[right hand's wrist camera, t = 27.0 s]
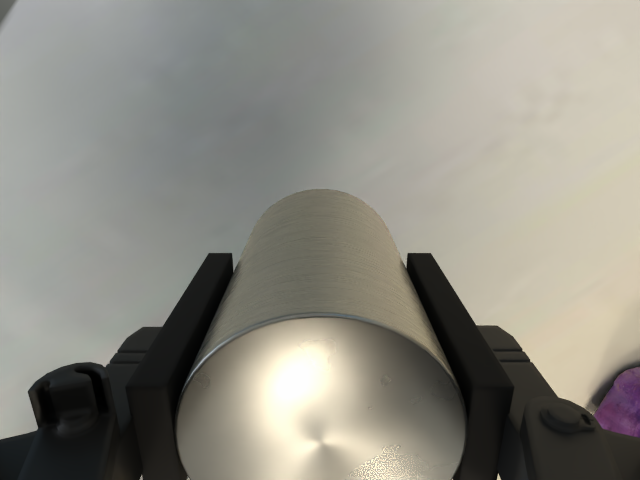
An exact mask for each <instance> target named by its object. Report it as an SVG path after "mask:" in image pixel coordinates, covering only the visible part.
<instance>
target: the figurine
mask: <svg viewBox="0 0 640 480" xmlns="http://www.w3.org/2000/svg"><path fill="white" fill-rule="evenodd" d="M594 417H595V418H596V420H597V421H598V422H599V424H600V425H601V427H602V429H605V430H609V431H612V432H616V433H621V434H625V435H630V436H634V437H639V438H640V367H635V368H631V369H628V370H625V371H624V372H623V373H621V374H619V375H618V377H617V378H616V380H615V381H614V385H613V386H612V387H611V389H610V390H609V391H608V393H607V394H606V395H605V397H604V399H603V400H602V402H601V404H600V406H599V407H598V409H597V411H596V412H595V414H594Z"/></svg>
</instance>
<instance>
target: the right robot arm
mask: <svg viewBox="0 0 640 480" xmlns="http://www.w3.org/2000/svg"><path fill="white" fill-rule="evenodd" d="M406 270H407V272H408V274H409V276H410V279H411V281H412V283H413V285H414V288H415V290H416V292H417V294H418V296H419V299H420V301H421V303H422V305H423V308H424V310H425V312H426V314H427V316H428V319H429V321H430V323H431V325H432V328H433V330H434V332H435V334H436V336H437V339H438V341H439V343H440V345H441V348H442V350H443V352H444V354H445V356H446V359H447V361H448V363H449V365H450V368H451V370H452V372H453V374H454V377H455V379H456V381H457V383H458V385H459V388H460V390H461V393H462V396H463V399H464V402H465V406H466V412H467V418H468V426H467V440H466V446H465V451H464V454H463V457H462V460H461V463H460V466H459V467H458V469H457V471H456V473H455V475H454V477H453V480H497V476H498V473H499V476H500V478H501V480H640V438H639V437H634V436H630V435H625V434H621V433H616V432H612V431H609V430H605V429H602V427H601V425H600V424H599V422H598V421H597V420H596V418H595V417H594V416H593V415H592V414H590V413H589V412H588V411H587V410H586V409H584V408H583V407H581V406H579V405H577V404H575V403H573V402H571V401H568V400H565V399H562V398H558V397H557V395H556V394H555V393H554V391H553V390H552V388H551V387H550V386H549V384H548V383H547V382H546V380H545V379H544V378H543V376H542V375H541V374H540V372H539V371H538V370H537V368H536V367H535V366H534V364H533V363H532V362H530V359H529V358H528V356H527V355H526V353H525V352H523V351H522V348H521V347H520V345H519V344H518V343H517V341H516V340H515V339H514V337H513V336H511V335H510V334H509V333H507V332H506V331H504V330H503V329H501V328H500V327H498V326H476V324H475V323H474V321H473V320H472V318H471V316H470V315H469V313H468V312H467V310H466V308H465V307H464V305H463V304H462V302H461V300H460V299H459V297H458V296H457V294H456V293H455V291H454V289H453V288H452V286H451V285H450V283H449V281H448V280H447V278H446V277H445V275H444V273H443V272H442V270H441V269H440V267H439V265H438V264H437V262H436V261H435V259H434V258H433V256H432V254H431V253H408V256H407V269H406ZM233 273H234V272H233V259H232V253H209V254H208V255H207V257H206V259H205V260H204V262H203V263H202V265H201V267H200V268H199V270H198V271H197V273H196V275H195V276H194V278H193V279H192V281H191V283H190V284H189V286H188V287H187V289H186V290H185V292H184V294H183V295H182V297H181V298H180V300H179V302H178V303H177V305H176V306H175V308H174V310H173V311H172V313H171V314H170V316H169V318H168V319H167V321H166V322H165V324H164V325H163V327H142V328H141V329H139V330H138V331H136V332H135V333H133V334H132V335H131V336H129V337H128V338H127V339H126V340H125V341H124V343H123V344H122V345H121V347H120V348H119V349H118V353H116V354H115V355H114V356H113V358H112V359H111V360H110V364H107V366H106V367H103V366H102V365H101V364H96V363H92V362H86V363H75V364H71V365H67V366H63V367H60V368H58V369H56V370H54V371H52V372H49V373H47V374H46V375H44V376H43V377H42V378H40V379H39V380H37V381H36V382H35V383H34V384H33V385H32V387H31V388H30V389H29V391H28V394H29V397H30V401H31V404H32V408H33V411H34V415H35V418H36V422H37V425H38V430H37V431H34V432H31V433H27V434H23V435H18V436H14V437H10V438H5V439H1V440H0V480H139V479H140V477H141V475H142V477H143V480H187V477H188V475H187V473H186V471H185V469H184V467H183V465H182V463H181V460H180V457H179V454H178V450H177V447H176V439H175V432H174V425H175V412H176V407H177V403H178V399H179V396H180V394H181V391H182V389H183V386H184V384H185V381H186V379H187V377H188V375H189V372H190V370H191V368H192V366H193V363H194V361H195V359H196V357H197V354H198V352H199V350H200V348H201V345H202V343H203V341H204V339H205V336H206V334H207V332H208V329H209V327H210V325H211V323H212V320H213V318H214V316H215V314H216V311H217V309H218V307H219V305H220V302H221V300H222V298H223V296H224V293H225V291H226V289H227V287H228V284H229V282H230V280H231V278H232V275H233Z"/></svg>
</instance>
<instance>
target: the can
mask: <svg viewBox="0 0 640 480" xmlns="http://www.w3.org/2000/svg"><path fill="white" fill-rule="evenodd" d="M467 426H468V418H467V412H466V406H465V402H464V399H463V396H462V393H461V390H460V388H459V385H458V383H457V381H456V379H455V377H454V374H453V372H452V370H451V368H450V365H449V363H448V361H447V359H446V356H445V354H444V352H443V350H442V348H441V345H440V343H439V341H438V339H437V336H436V334H435V332H434V330H433V328H432V325H431V323H430V321H429V319H428V316H427V314H426V312H425V310H424V308H423V305H422V303H421V301H420V299H419V296H418V294H417V292H416V290H415V288H414V285H413V283H412V281H411V279H410V276H409V274H408V272H407V270H406V268H405V265H404V263H403V261H402V259H401V256H400V254H399V252H398V250H397V248H396V245H395V243H394V241H393V239H392V236H391V234H390V232H389V230H388V228H387V226H386V224H385V223H384V221H383V220H382V219H381V217H380V216H379V215H378V214H377V213H376V212H375V210H374V209H373V208H371V207H370V206H369V205H368V204H366V203H365V202H363V201H362V200H360V199H358V198H357V197H354V196H352V195H350V194H347V193H344V192H340V191H336V190H329V189H312V190H305V191H301V192H297V193H294V194H292V195H289V196H287V197H285V198H283V199H281V200H279V201H278V202H276V203H275V204H274V205H272V206H271V207H270V208H269V209H268V210H267V211H266V212H265V213H264V214H263V215H262V216H261V217H260V219H259V220H258V221H257V223H256V225H255V227H254V228H253V230H252V232H251V235H250V237H249V239H248V241H247V244H246V246H245V248H244V251H243V253H242V255H241V257H240V260H239V262H238V264H237V266H236V269H235V271H234V273H233V275H232V278H231V280H230V282H229V284H228V287H227V289H226V291H225V293H224V296H223V298H222V300H221V302H220V305H219V307H218V309H217V311H216V314H215V316H214V318H213V320H212V323H211V325H210V327H209V329H208V332H207V334H206V336H205V339H204V341H203V343H202V345H201V348H200V350H199V352H198V354H197V357H196V359H195V361H194V363H193V366H192V368H191V370H190V372H189V375H188V377H187V379H186V381H185V384H184V386H183V389H182V391H181V394H180V396H179V399H178V403H177V407H176V412H175V425H174V432H175V439H176V447H177V450H178V454H179V457H180V460H181V463H182V465H183V467H184V469H185V471H186V473H187V475H188V477H189V478H190V480H452V479H453V477H454V475H455V473H456V471H457V469H458V467H459V466H460V463H461V460H462V457H463V454H464V451H465V446H466V440H467Z"/></svg>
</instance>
